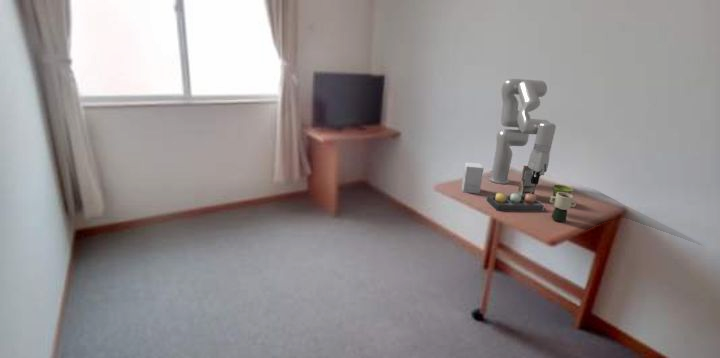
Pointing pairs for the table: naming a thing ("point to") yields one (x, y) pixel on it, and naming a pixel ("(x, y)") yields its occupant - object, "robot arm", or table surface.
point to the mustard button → (500, 198)
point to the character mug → (562, 205)
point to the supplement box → (472, 177)
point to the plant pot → (561, 189)
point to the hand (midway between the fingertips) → (534, 183)
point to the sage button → (515, 198)
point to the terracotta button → (530, 198)
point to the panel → (515, 205)
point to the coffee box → (526, 182)
